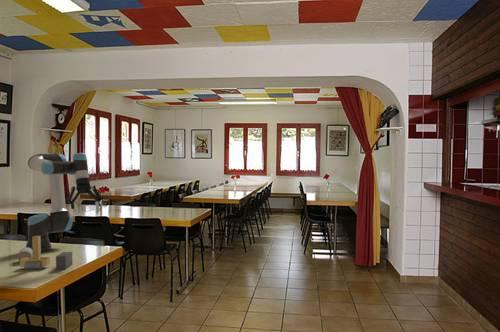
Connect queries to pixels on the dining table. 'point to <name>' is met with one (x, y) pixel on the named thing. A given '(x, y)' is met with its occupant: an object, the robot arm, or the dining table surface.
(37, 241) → the t-shaped wooden piece
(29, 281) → the dining table surface
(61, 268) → the slotted grey block
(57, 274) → the dining table surface
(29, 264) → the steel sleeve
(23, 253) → the ceramic mug
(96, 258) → the dining table surface
